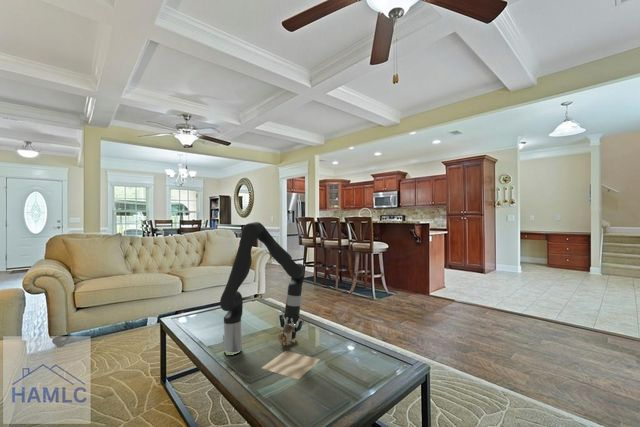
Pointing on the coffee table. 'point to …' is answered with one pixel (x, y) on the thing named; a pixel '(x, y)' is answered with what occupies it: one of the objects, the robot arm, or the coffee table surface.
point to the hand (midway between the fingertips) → (289, 337)
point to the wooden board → (291, 364)
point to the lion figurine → (282, 339)
